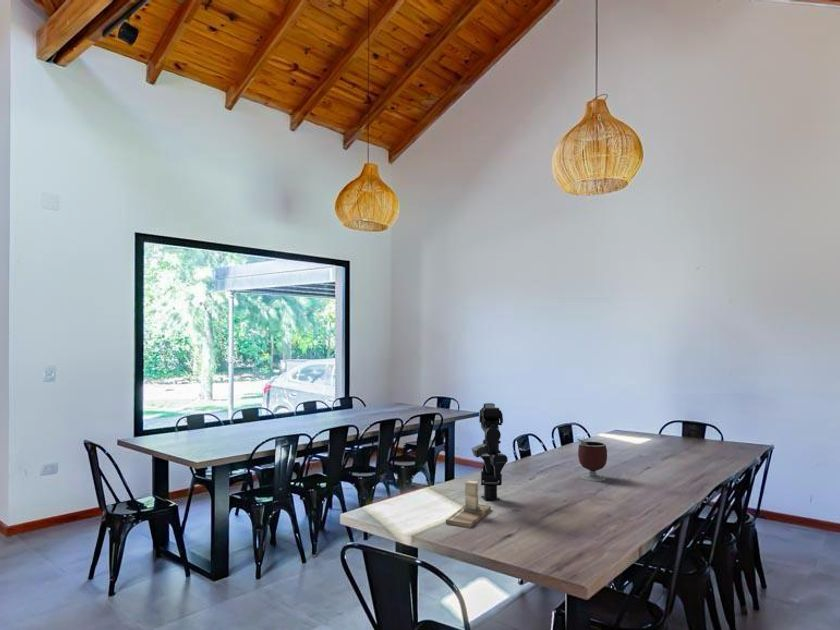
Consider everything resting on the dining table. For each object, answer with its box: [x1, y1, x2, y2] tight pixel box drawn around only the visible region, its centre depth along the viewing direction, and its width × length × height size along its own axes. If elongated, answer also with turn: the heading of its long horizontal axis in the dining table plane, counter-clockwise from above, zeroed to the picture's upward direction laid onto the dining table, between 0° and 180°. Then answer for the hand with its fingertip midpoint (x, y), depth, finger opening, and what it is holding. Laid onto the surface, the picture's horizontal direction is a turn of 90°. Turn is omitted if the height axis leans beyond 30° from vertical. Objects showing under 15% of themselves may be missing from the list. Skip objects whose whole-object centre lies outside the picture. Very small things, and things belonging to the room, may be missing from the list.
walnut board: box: [445, 503, 492, 528], centre depth 222 cm, size 24×10×2 cm, turn 155°
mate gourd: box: [576, 438, 608, 482], centre depth 282 cm, size 16×14×20 cm
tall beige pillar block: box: [464, 480, 480, 513], centre depth 225 cm, size 5×5×11 cm
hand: (492, 475), depth 234 cm, fingers open, 9 cm apart
